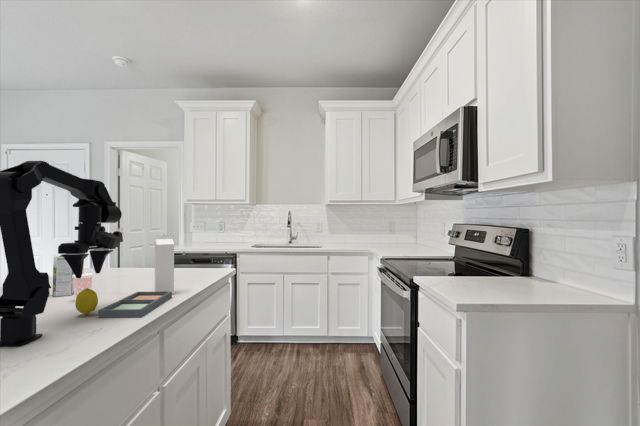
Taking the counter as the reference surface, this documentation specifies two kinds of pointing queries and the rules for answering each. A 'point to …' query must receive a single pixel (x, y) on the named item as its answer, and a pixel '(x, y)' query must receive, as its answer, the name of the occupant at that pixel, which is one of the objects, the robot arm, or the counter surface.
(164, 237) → the milk
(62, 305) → the counter surface
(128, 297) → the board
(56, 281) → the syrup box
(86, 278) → the beverage cup
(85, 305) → the lemon
